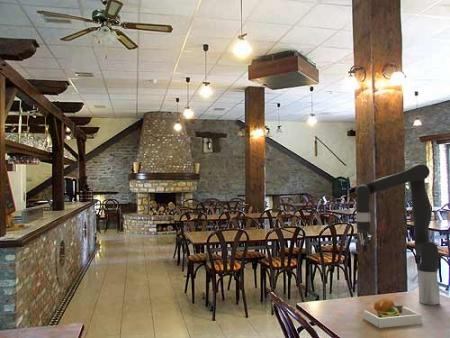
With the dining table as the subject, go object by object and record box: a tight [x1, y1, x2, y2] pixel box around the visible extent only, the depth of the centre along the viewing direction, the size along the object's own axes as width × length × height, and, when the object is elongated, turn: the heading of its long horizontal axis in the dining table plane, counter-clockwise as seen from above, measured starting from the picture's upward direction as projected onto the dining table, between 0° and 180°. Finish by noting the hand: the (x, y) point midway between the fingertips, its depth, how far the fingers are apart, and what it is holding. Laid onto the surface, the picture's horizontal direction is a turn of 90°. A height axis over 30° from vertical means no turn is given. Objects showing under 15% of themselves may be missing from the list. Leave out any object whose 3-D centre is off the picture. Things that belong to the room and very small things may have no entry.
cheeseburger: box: [373, 297, 401, 318], centre depth 187 cm, size 10×11×10 cm
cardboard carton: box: [393, 301, 404, 313], centre depth 198 cm, size 4×7×3 cm, turn 12°
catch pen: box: [363, 306, 423, 329], centre depth 182 cm, size 22×12×4 cm, turn 102°
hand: (364, 251), depth 216 cm, fingers closed
